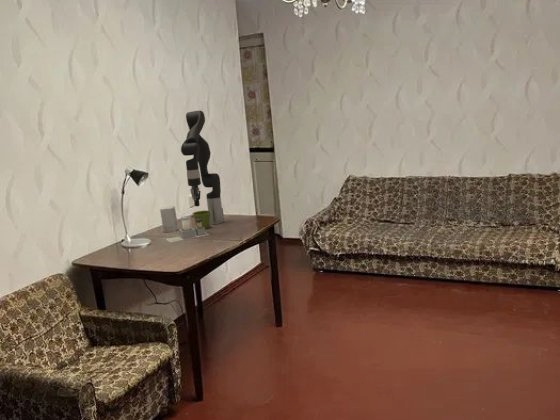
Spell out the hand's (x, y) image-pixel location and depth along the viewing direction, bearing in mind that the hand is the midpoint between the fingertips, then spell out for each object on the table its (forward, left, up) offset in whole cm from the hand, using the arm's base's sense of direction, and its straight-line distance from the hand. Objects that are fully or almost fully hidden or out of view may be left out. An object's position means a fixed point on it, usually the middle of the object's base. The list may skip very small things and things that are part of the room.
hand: (197, 205), depth 314 cm
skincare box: (+11, -30, -19) cm, 37 cm away
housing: (+8, 0, -19) cm, 21 cm away
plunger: (0, 0, -15) cm, 15 cm away
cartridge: (+8, 0, -18) cm, 19 cm away
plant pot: (-7, -17, -19) cm, 27 cm away
